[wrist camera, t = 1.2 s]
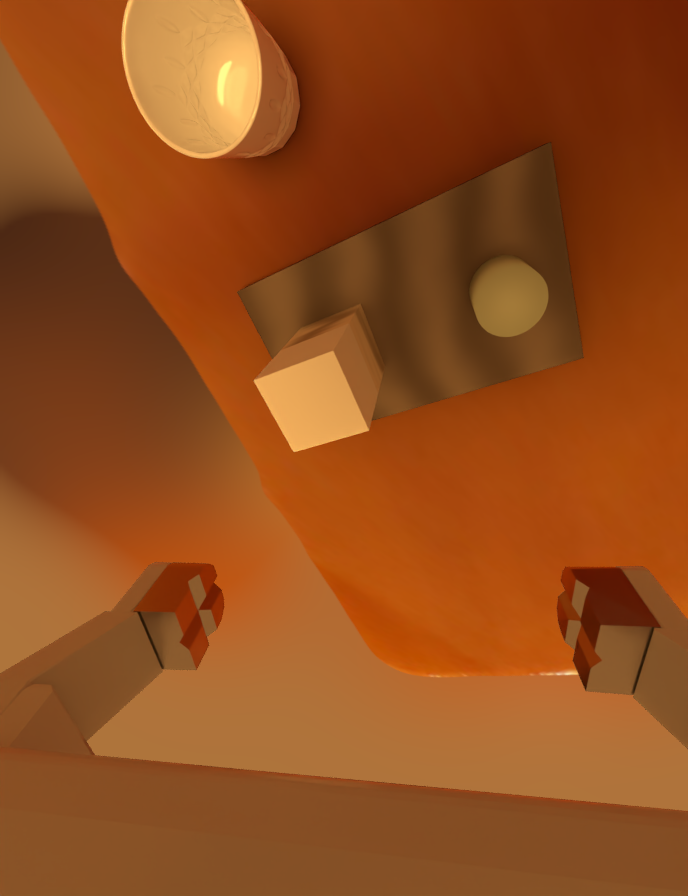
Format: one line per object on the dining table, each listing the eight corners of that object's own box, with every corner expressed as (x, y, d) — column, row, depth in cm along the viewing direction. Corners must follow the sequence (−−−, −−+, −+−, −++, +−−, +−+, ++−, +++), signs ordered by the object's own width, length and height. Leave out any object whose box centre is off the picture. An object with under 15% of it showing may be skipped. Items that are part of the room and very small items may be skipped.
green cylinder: (526, 244, 31) (541, 253, 26) (538, 305, 33) (554, 323, 29) (462, 270, 32) (467, 282, 28) (477, 326, 34) (484, 346, 30)
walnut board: (545, 143, 28) (550, 142, 27) (578, 351, 35) (583, 357, 34) (243, 288, 38) (237, 291, 36) (316, 430, 45) (313, 437, 43)
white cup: (246, -10, 27) (165, -95, 19) (330, 97, 29) (291, 63, 21) (186, 102, 31) (97, 73, 23) (264, 189, 33) (209, 191, 25)
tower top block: (349, 323, 30) (333, 350, 25) (378, 393, 33) (369, 430, 28) (280, 350, 32) (253, 380, 27) (312, 414, 35) (293, 452, 30)
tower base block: (360, 303, 35) (349, 323, 30) (384, 365, 38) (378, 393, 33) (300, 328, 37) (280, 350, 32) (327, 385, 40) (312, 414, 35)
